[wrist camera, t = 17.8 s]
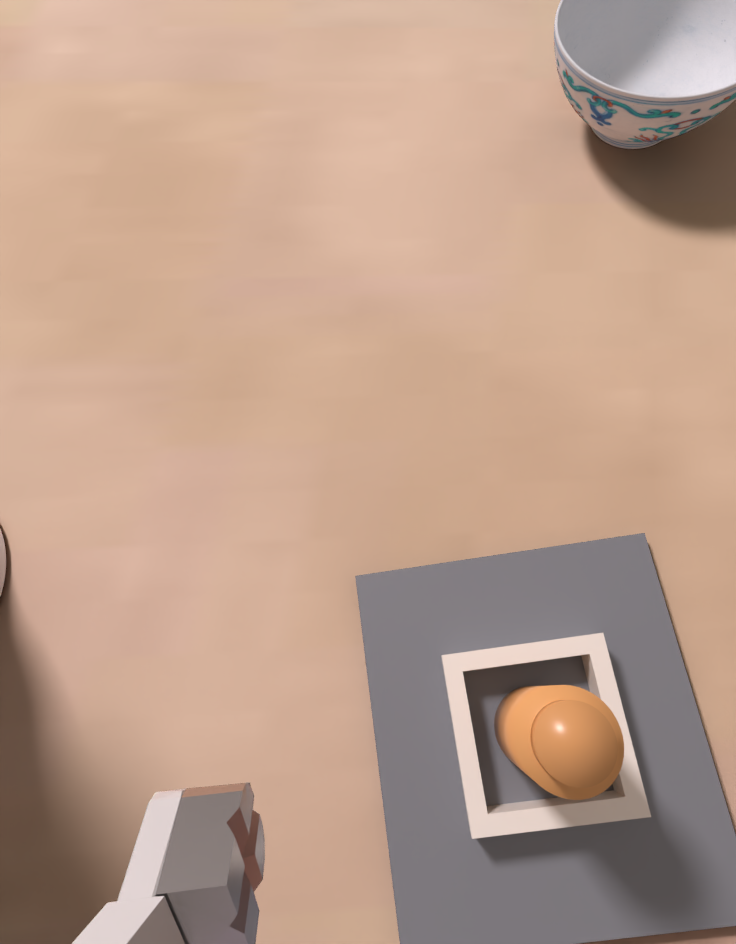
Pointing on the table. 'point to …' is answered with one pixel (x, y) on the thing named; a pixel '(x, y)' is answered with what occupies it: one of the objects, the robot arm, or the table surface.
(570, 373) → the table surface
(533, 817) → the holder
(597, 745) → the orange cylinder
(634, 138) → the chinaware
